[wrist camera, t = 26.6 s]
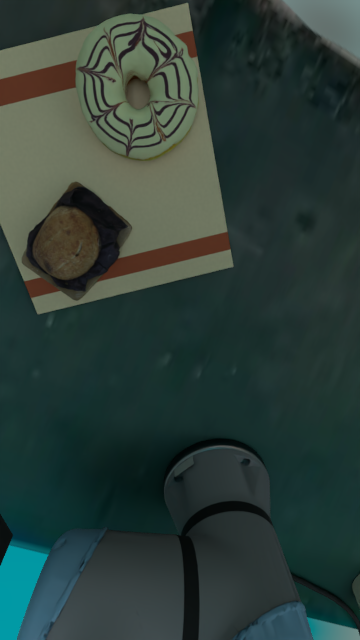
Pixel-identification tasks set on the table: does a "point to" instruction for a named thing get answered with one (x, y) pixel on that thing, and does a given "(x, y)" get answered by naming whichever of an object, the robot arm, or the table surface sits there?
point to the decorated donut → (147, 65)
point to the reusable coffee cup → (357, 589)
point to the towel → (105, 172)
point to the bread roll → (76, 241)
